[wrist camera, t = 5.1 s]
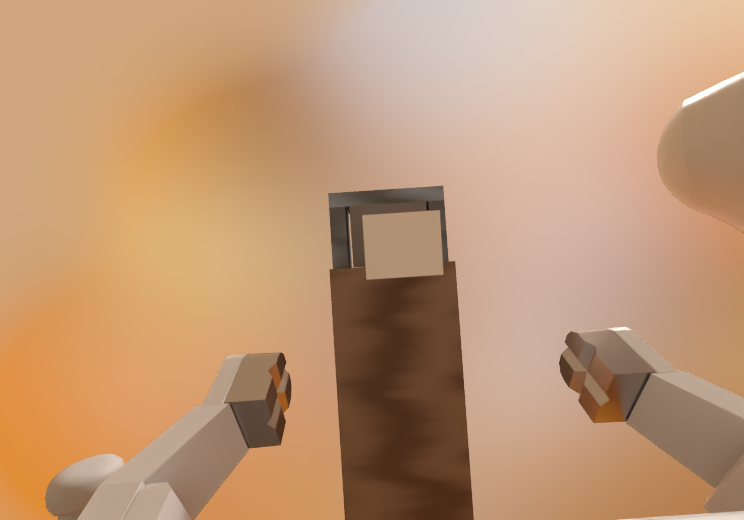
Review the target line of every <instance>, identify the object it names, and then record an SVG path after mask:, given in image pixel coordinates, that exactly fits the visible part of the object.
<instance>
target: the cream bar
mask: <svg viewBox="0 0 744 520" xmlns="http://www.w3.org/2000/svg"><path fill="white" fill-rule="evenodd" d="M350 220H351V235H352V249H353V264H354V267H366V280H370V279H385V278H401V277H416V276H431V275H444V274H443V257H442V239H441V222H440V210H434V211H427V210H426V201H422V202H407V203H392V204H377V205H361V206H350Z"/></svg>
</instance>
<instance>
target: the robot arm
mask: <svg viewBox="0 0 744 520" xmlns="http://www.w3.org/2000/svg"><path fill="white" fill-rule="evenodd" d="M657 163H658V170H659V173H660V176H661V178H662V181H663V183H664V184H665V186H666V187H667V189H668V190H669V191H670V192H671V193H672V195H673V196H674V197H676V198H677V199H678V200H679V201H681V202H682V203H683V204H685V205H687V206H688V207H690V208H692V209H694V210H696V211H698V212H701V213H703V214H706V215H709V216H711V217H714V218H716V219H718V220H720V221H723V222H725V223H727V224H729V225H731V226H733V227H734V228H736V229H738V230H739V231H741V232H742V233H744V72H743V73H741V74H738V75H736V76H734V77H732V78H730V79H728V80H726V81H724V82H722V83H719V84H717V85H715V86H713V87H712V88H709V89H708V90H705V91H703V92H701V93H699V94H697V95H695V96H693V97H691V98H690V99H687V100H685V101H684V102H683V103H682V104H681V105H680V107H679V108H678V109H677V110H676V111H675V113H674V114H673V116H672V117H671V118H670V120H669V122H668V123H667V125H666V126H665V129H664V131H663V133H662V135H661V138H660V141H659V145H658V151H657ZM565 343H566V345H567V346H568V348H567V349H566V350H565V351H564V352H563V353H562V354H561V358H560V362H559V365H560V372H561V374H562V377H563V379H564V381H565V382H566V384H567V385H568V387H569V388H571V389H573V390H574V391H576V392H578V393H579V400H578V401H579V403H580V404H581V406H582V407H583V409H584V410H585V411H586V412H587V414H588V416H589V417H590V419H591V420H592V421H593V423H603V422H625V421H627V424H628V425H629V426H631V427H632V428H633V429H635V430H636V431H637V432H639V433H640V434H642V435H643V436H645V437H646V438H647V439H648V440H650V441H651V442H653V443H654V444H655V445H657V446H658V447H659V448H661V449H662V450H663V451H665V452H666V453H667V454H669V455H670V456H672V457H673V458H674V459H676V460H677V461H678V462H680V463H681V464H682V465H684V466H685V467H687V468H688V469H689V470H691V471H692V472H694V473H695V474H696V475H697V476H699V477H700V478H702V479H703V480H704V481H706V482H707V483H708V484H710V485H711V486H712V487H714V490H713V491H712V492H711V493H710V494H709V496H708V497H707V498H706V499H705V502H704V507H705V508H706V510H707V511H708V512H709V513H706V514H692V515H678V516H663V517H649V518H635V519H621V520H744V398H742V397H740V396H738V395H736V394H734V393H732V392H729V391H727V390H725V389H723V388H721V387H718V386H716V385H714V384H712V383H710V382H707V381H705V380H703V379H701V378H698V377H696V376H694V375H692V374H690V373H688V372H685V371H677V370H676V369H675V368H674V367H673V366H672V365H671V364H669V363H668V362H667V361H666V360H665V359H664V358H663V357H662V356H661V355H659V354H658V353H657V352H656V351H655V350H654V349H653V348H652V347H651V346H649V345H648V344H647V343H646V342H645V341H644V340H643V339H642V338H641V337H639V336H638V335H637V334H636V333H635V332H634V331H633V330H631V329H629V328H627V327H620V328H609V329H596V330H584V331H573V332H570V333H569V334H568V335H567V337H566V340H565ZM285 364H286V360H285V357H284V354H283V353H260V354H246V355H229V356H228V357H227V358H225V360H224V362H223V364H222V366H221V368H220V370H219V372H218V374H217V376H216V378H215V380H214V382H213V384H212V386H211V388H210V390H209V392H208V394H207V396H206V398H205V400H204V403H203V404H202V405H198V406H195V407H194V408H193V409H192V410H191V411H189V412H188V413H187V414H186V415H185V416H183V417H182V418H181V419H180V420H178V421H177V422H176V423H175V424H173V425H172V426H171V427H170V428H169V429H167V430H166V431H165V432H164V433H162V434H161V435H160V436H159V437H158V438H156V439H155V440H154V441H153V442H151V443H150V444H149V445H148V446H147V447H145V448H144V449H143V450H142V451H141V452H139V453H138V454H137V455H136V456H134V457H133V458H132V459H131V460H130V461H128V462H127V463H126V464H125V465H123V466H122V467H121V468H120V469H119V470H117V471H116V472H115V473H114V474H112V475H111V476H110V477H109V478H108V479H106V480H105V481H104V482H103V483H101V484H100V485H99V487H98V488H97V490H96V491H95V493H94V494H93V496H92V497H91V499H90V500H89V502H88V504H87V505H86V507H85V508H84V510H83V511H82V513H81V514H80V516H79V517H78V519H77V520H194V519H195V518H196V517H197V515H198V514H199V513H200V512H201V510H202V509H203V508H204V506H205V505H206V504H207V503H208V501H209V500H210V499H211V498H212V496H213V495H214V494H215V493H216V491H217V490H218V489H219V488H220V486H221V485H222V484H223V482H224V481H225V480H226V479H227V477H228V476H229V475H230V474H231V472H232V471H233V470H234V469H235V467H236V466H237V465H238V463H239V462H240V461H241V460H242V458H243V457H244V456H245V454H246V453H247V452H248V448H258V447H268V446H277V445H281V441H282V436H283V432H284V428H285V423H286V421H285V418H284V414H283V413H284V412H285V411H286V410H287V409H288V408H289V404H290V399H291V380H290V375H289V373H288V372H287V371H286V370H284V368H285Z"/></svg>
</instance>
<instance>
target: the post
mask: <svg viewBox="0 0 744 520" xmlns="http://www.w3.org/2000/svg"><path fill="white" fill-rule="evenodd" d="M328 195H329V211H330V227H331V243H332V257H333V269H331V270H330V284H331V301H332V317H333V333H334V349H335V365H336V381H337V395H338V396H337V397H338V413H339V428H340V445H341V462H342V478H343V493H344V510H345V520H474V517H473V505H472V490H471V477H470V463H469V448H468V434H467V420H466V407H465V393H464V379H463V366H462V351H461V337H460V323H459V309H458V295H457V282H456V267H455V261H452V262H448V248H447V234H446V220H445V206H444V192H443V186H434V187H419V188H403V189H389V190H374V191H358V192H343V193H329V194H328ZM422 201H426V210H427V211H434V210H440V222H441V239H442V257H443V274H444V275H431V276H416V277H401V278H385V279H370V280H366V267H360V268H352V262H351V246H350V230H349V216H348V214H350V206H361V205H377V204H392V203H407V202H422Z"/></svg>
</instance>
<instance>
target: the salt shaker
mask: <svg viewBox="0 0 744 520" xmlns="http://www.w3.org/2000/svg"><path fill="white" fill-rule="evenodd" d="M123 465H124V462H123V459H122V458H120V457H118V456H116V455H114V454H103V455H98V456H93V457H89V458H87V459H84V460H81V461H78V462H77V463H74V464H72V465H70V466H68V467H66V468H65V469H63V470H62V471H61V472H60V473H58V474H57V475H56V476H55V477H54V478H53V479H52V480H51V482H50V484H49V485H48V487H47V491H46V497H45V501H46V508H47V509H48V511H49V512H50V513H51V514H53V515H54V516H58V520H77V519H78V517H79V516H80V514H81V513H82V511H83V510H84V508H85V507H86V505H87V504H88V502H89V500H90V499H91V497H92V496H93V494H94V493H95V491H96V490H97V488H98V487H99V485H100V484H101V483H103V482H104V481H105V480H106V479H108V478H109V477H110V476H111V475H112V474H114V473H115V472H116V471H117V470H119V469H120V468H121V467H122V466H123Z"/></svg>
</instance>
